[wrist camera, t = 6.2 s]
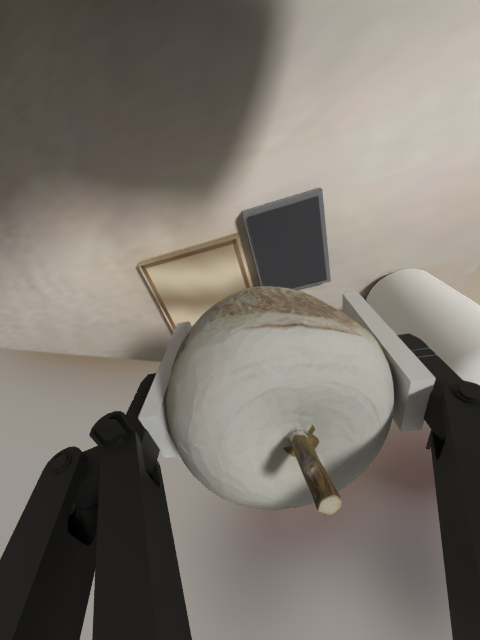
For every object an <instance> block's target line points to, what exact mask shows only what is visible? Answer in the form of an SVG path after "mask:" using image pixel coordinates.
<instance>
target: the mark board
mask: <svg viewBox="0 0 480 640" xmlns="http://www.w3.org/2000/svg"><path fill="white" fill-rule="evenodd" d="M137 265H138V267H139V268H140V270H141V272H142V274H143V276H144V278H145V280H146V282H147V284H148V285H149V287H150V289H151V291H152V293H153V295H154V297H155V299H156V301H157V302H158V304H159V306H160V308H161V310H162V312H163V314H164V316H165V317H166V319H167V321H168V323H169V325H170V327H171V329H172V331H173V333H174V330H175V328H176V326H177V323H182V322H187V321H190V324H191V326H193V325H194V324H195V323H196V322H197V320H198V319H199V318H200V317H201V316H202V315H203V314H204V313H205V312H206V311H207V310H208V309H209V308H211V307H212V306H213V305H215V304H216V303H218V302H219V301H221V300H223V299H224V298H226V297H228V296H229V295H232V294H234V293H236V292H238V291H240V290H243V289H246V288H251V287H253V284H252V280H251V277H250V273H249V269H248V266H247V262H246V259H245V255H244V252H243V248H242V244H241V241H240V237H239V234H238V233H235V234H232V235H228V236H225V237H222V238H218V239H215V240H211V241H208V242H204V243H201V244H197V245H194V246H190V247H187V248H184V249H180V250H177V251H173V252H170V253H166V254H163V255H159V256H156V257H153V258H149V259H146V260H142V261H140V262H139V263H138V264H137Z"/></svg>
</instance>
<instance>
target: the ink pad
mask: <svg viewBox="0 0 480 640" xmlns="http://www.w3.org/2000/svg"><path fill="white" fill-rule="evenodd" d="M242 215H243V219H244V223H245V226H246V230H247V234H248V238H249V242H250V246H251V249H252V253H253V257H254V261H255V265H256V269H257V272H258V276H259V280H260V284H261V286H273V287H283V288H289V289H293V290H297V289H301V288H305V287H309V286H313V285H317V284H321V283H326V282H330V281H331V279H330V268H329V257H328V247H327V236H326V225H325V214H324V204H323V193H322V189H321V188H317V189H313V190H310V191H307V192H303V193H300V194H297V195H294V196H290V197H287V198H284V199H280V200H277V201H274V202H270V203H267V204H264V205H261V206H257V207H254V208H251V209H247V210H244V211H242Z"/></svg>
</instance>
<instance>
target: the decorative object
mask: <svg viewBox="0 0 480 640" xmlns="http://www.w3.org/2000/svg"><path fill="white" fill-rule="evenodd" d="M166 402H167V417H168V423H169V428H170V433H171V436H172V438H173V441H174V444H175V446H176V448H177V451H178V453H179V455H180V456H181V458H182V460H183V462H184V463H185V465H186V466H187V468H188V469H189V470H190V472H191V473H192V474H193V475H194V476H195V477H196V478H197V479H198V480H199V481H200V482H201V483H202V484H203V485H205V487H207V488H208V489H209V490H210V491H212V492H213V493H215V494H216V495H218V496H220V497H221V498H223V499H226V500H228V501H230V502H233V503H235V504H238V505H242V506H247V507H251V508H256V509H268V510H280V509H281V510H282V509H288V508H296V507H301V506H305V505H308V504H312V503H315V505H316V507H317V510H318V511H319V512H320V513H322V514H324V515H331V514H333V513H334V512H336V511H337V510H338V509H339V508H340V507H341V503H342V499H341V497H340V496H339V494H338V491H340V490H341V489H343V488H344V487H346V486H347V485H349V484H350V483H352V482H353V481H354V480H355V479H356V478H357V477H358V476H359V475H360V474H362V473H363V472H364V471H365V470H366V469H367V467H368V466H369V465H370V464H371V462H372V461H373V460H374V459H375V457H376V456H377V454H378V453H379V451H380V450H381V448H382V446H383V444H384V442H385V440H386V437H387V434H388V432H389V430H390V426H391V422H392V418H393V409H394V388H393V379H392V375H391V371H390V367H389V364H388V362H387V359H386V357H385V355H384V353H383V351H382V349H381V347H380V346H379V344H378V342H377V341H376V339H375V338H374V336H373V335H372V334H371V333H370V332H369V331H368V330H367V329H366V328H364V327H363V326H362V325H360V324H359V323H358V322H356V321H355V320H353V319H352V318H351V317H349V316H348V315H346V314H344V313H343V312H341V311H339V310H338V309H336V308H334V307H332V306H330V305H328V304H326V303H325V302H323V301H321V300H319V299H318V298H315V297H313V296H311V295H309V294H306V293H304V292H301V291H297V290H293V289H289V288H283V287H273V286H258V287H251V288H246V289H243V290H240V291H238V292H236V293H234V294H232V295H229V296H228V297H226V298H224V299H223V300H221V301H219V302H218V303H216V304H215V305H213V306H212V307H211V308H209V309H208V310H207V311H206V312H205V313H204V314H203V315H202V316H201V317H200V318H199V319H198V320H197V322H196V323H195V324H194V325H193V326H192V328H191V329H190V330H189V332H188V333H187V334H186V336H185V337H184V339H183V340H182V342H181V344H180V347H179V349H178V352H177V354H176V356H175V359H174V363H173V366H172V370H171V376H170V380H169V385H168V392H167V396H166Z"/></svg>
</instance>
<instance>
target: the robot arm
mask: <svg viewBox="0 0 480 640" xmlns="http://www.w3.org/2000/svg"><path fill="white" fill-rule="evenodd" d="M343 313H344V314H346V315H348V316H349V317H351V318H352V319H353V320H355V321H356V322H358V323H359V324H360V325H362V326H363V327H364V328H366V329H367V330H368V331H369V332H370V333H371V334H372V335H373V336H374V338H375V339H376V341H377V342H378V344H379V346H380V347H381V349H382V351H383V353H384V355H385V357H386V359H387V362H388V364H389V367H390V371H391V375H392V379H393V388H394V409H393V420H394V421H395V423H396V424H397V426H398V428H399V430H400V431H410V430H420V429H422V426H423V423H424V420H425V421H426V422H427V424H428V425H429V427H430V428H431V432H430V435H429V439H428V442H427V446H426V449H430V447H431V452H432V461H433V469H434V478H435V487H436V496H437V504H438V512H439V522H440V531H441V540H442V548H443V557H444V565H445V575H446V583H447V592H448V601H449V610H450V618H451V627H452V636H453V640H480V385H478V384H476V383H472V382H468V381H464V380H462V379H461V378H460V377H459V376H458V375H457V374H456V373H455V372H454V371H453V370H452V369H451V368H450V367H449V366H448V365H447V364H446V363H445V362H444V361H443V360H442V359H441V358H440V357H439V356H438V355H437V356H436V353H435V352H434V351H433V350H432V349H429V346H427V345H426V344H425V343H424V342H423V341H422V340H421V339H420V338H418V337H416V336H414V335H412V334H410V333H408V334H401V335H396V334H395V333H394V332H393V330H392V329H391V328H390V327H389V326H388V325H387V324H386V323H385V322H384V320H383V319H382V318H381V317H380V316H379V315H378V314H377V313H376V312H375V311H374V309H373V308H372V307H371V306H370V305H369V304H368V303H367V302H366V301H365V300H364V298H363V297H362V296H361V295H360V294H359V293H358V292H357V291H355V292H350V293H344V294H343ZM191 328H192V326H191V324H190V321H187V322H182V323H177V326H176V328H175V330H174V333H173V335H172V338H171V340H170V342H169V345H168V347H167V350H166V352H165V354H164V357H163V359H162V362H161V364H160V366H159V369H158V371H157V373H155V374H149V375H147V377H146V378H145V379H144V380H143V381H142V382H141V384H140V386H139V388H138V390H137V393H136V394H135V396H134V400H133V401H132V403H131V405H130V407H129V409H128V412H127V413H126V415H125V414H124V413H123V412H121V411H114V412H112V413H109V414H107V415H105V416H103V417H102V418H101V419H100V420H98V421H97V422H96V423H95V425H94V426H93V428H92V429H91V432H90V437H91V438H92V439H93V440H94V441H95V442H96V443H97V445H98V446H96V447H94V448H92V449H89V450H87V451H84V452H82V451H81V450H80V449H79V448H77V447H68V448H66V449H64V450H62V451H60V452H59V453H57V454H56V455H55V456H54V457H53V458H52V459H51V460H50V461H49V462H48V463H47V465H46V466H45V468H44V470H43V472H42V474H41V476H40V478H39V480H38V482H37V485H36V486H35V488H34V490H33V493H32V495H31V497H30V499H29V501H28V503H27V505H26V507H25V509H24V511H23V513H22V515H21V517H20V520H19V522H18V524H17V526H16V528H15V530H14V532H13V534H12V536H11V538H10V541H9V542H8V545H7V547H6V549H5V551H4V553H3V555H2V557H1V559H0V640H80V635H81V631H82V626H83V621H84V617H85V613H86V608H87V604H88V599H89V595H90V590H91V586H92V581H93V577H94V572H95V591H94V616H93V638H92V639H93V640H192V637H191V633H190V627H189V621H188V616H187V610H186V605H185V600H184V594H183V588H182V583H181V577H180V572H179V566H178V561H177V556H176V550H175V545H174V539H173V534H172V528H171V523H170V518H169V512H168V507H167V501H166V496H165V491H164V485H163V479H162V474H161V468H160V465H159V463H158V461H157V458H158V455H159V451H160V452H161V453H162V455H163V456H164V458H169V457H177V456H180V455H179V453H178V451H177V448H176V446H175V444H174V441H173V438H172V436H171V433H170V428H169V423H168V417H167V402H166V396H167V392H168V385H169V380H170V376H171V370H172V366H173V363H174V359H175V356H176V354H177V352H178V349H179V347H180V344H181V342H182V340H183V339H184V337H185V336H186V334H187V333H188V332H189V330H190V329H191Z"/></svg>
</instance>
